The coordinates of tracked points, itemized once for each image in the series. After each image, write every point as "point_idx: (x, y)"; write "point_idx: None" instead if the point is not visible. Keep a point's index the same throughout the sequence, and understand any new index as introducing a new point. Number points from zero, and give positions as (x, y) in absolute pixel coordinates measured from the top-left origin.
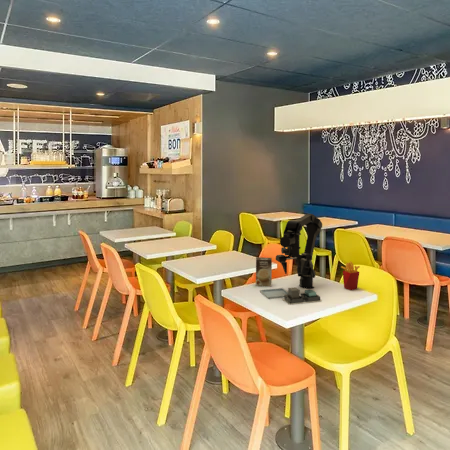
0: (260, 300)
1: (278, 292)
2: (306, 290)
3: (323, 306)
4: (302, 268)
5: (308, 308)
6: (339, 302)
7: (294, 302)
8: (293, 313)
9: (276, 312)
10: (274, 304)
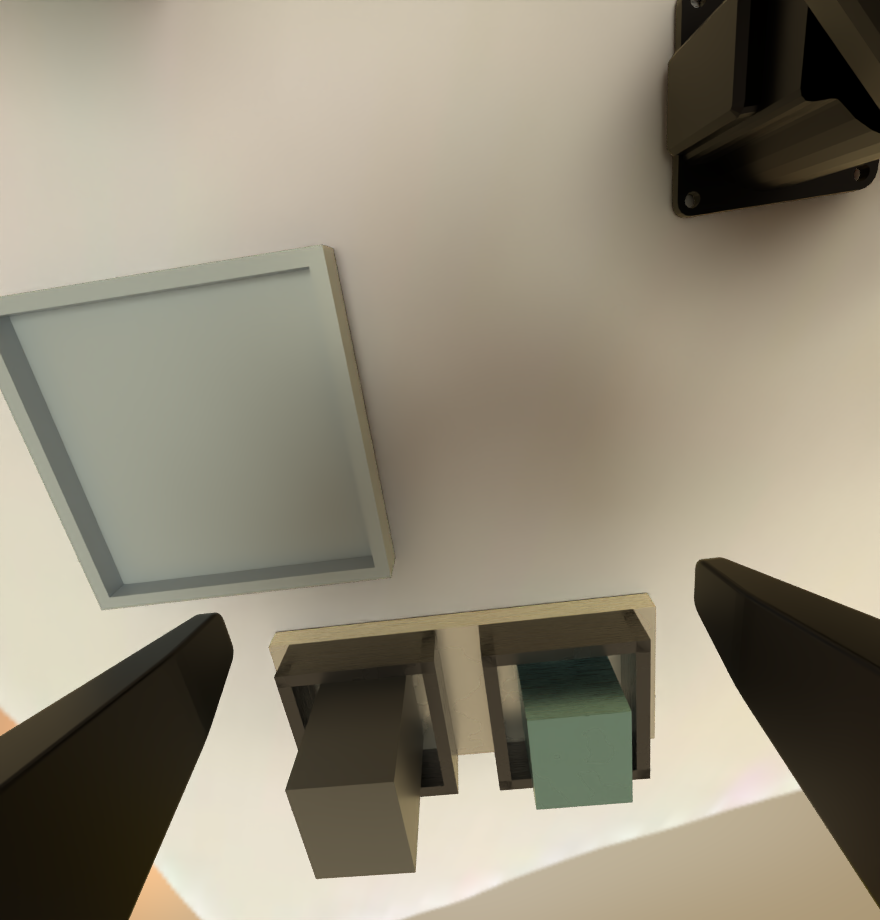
0: (44, 584)
1: (253, 376)
2: (546, 730)
3: None
4: (787, 734)
5: (465, 818)
6: None
7: None
8: None
9: (196, 849)
10: None
